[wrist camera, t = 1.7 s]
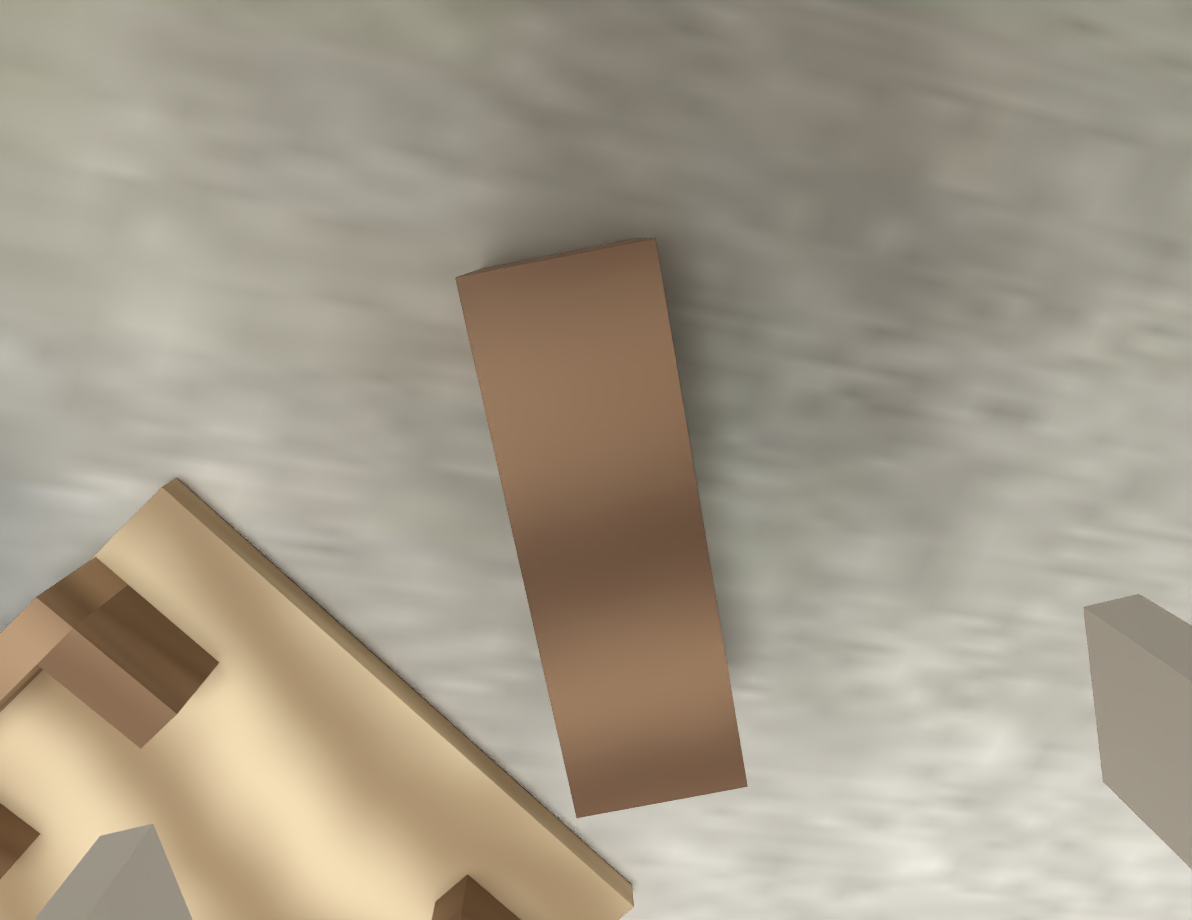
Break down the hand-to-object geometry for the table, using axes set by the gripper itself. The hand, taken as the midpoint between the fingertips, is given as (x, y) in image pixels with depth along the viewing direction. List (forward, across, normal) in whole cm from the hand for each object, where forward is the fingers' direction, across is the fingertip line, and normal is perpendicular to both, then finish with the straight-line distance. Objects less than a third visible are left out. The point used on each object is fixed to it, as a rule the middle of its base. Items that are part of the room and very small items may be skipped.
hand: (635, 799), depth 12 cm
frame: (+15, 0, 0) cm, 15 cm away
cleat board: (+15, -14, -9) cm, 23 cm away
